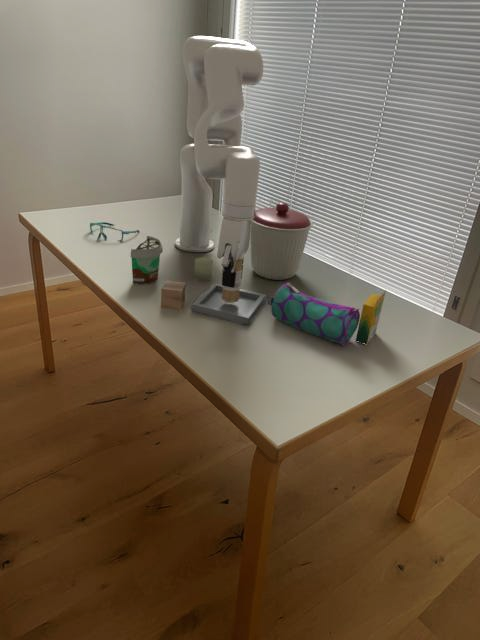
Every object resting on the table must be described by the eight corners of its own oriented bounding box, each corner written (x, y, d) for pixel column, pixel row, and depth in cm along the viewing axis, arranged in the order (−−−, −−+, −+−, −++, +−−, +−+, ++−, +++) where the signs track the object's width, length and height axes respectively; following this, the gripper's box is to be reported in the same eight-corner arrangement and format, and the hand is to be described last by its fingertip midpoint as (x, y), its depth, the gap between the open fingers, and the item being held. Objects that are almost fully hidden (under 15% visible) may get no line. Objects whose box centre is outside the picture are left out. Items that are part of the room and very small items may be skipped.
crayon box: (364, 329, 122) (374, 286, 116) (376, 333, 121) (387, 289, 115) (354, 341, 116) (364, 296, 111) (366, 345, 115) (378, 300, 109)
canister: (315, 275, 149) (327, 205, 139) (280, 291, 137) (291, 216, 127) (267, 257, 159) (275, 191, 149) (230, 271, 146) (237, 199, 136)
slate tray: (213, 289, 134) (214, 282, 133) (265, 301, 130) (265, 294, 129) (191, 311, 122) (192, 304, 121) (247, 325, 118) (248, 318, 117)
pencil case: (264, 321, 121) (268, 285, 116) (283, 309, 127) (288, 275, 123) (341, 353, 111) (350, 315, 106) (358, 339, 117) (366, 302, 113)
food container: (153, 289, 130) (153, 253, 126) (130, 285, 131) (130, 249, 127) (168, 272, 141) (169, 238, 136) (147, 268, 142) (147, 235, 137)
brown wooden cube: (165, 298, 127) (165, 280, 124) (184, 300, 127) (185, 282, 124) (161, 307, 122) (161, 288, 120) (181, 309, 122) (182, 291, 120)
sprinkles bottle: (234, 294, 128) (239, 244, 121) (242, 302, 124) (247, 251, 118) (218, 296, 126) (222, 246, 119) (225, 304, 122) (230, 253, 116)
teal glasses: (82, 236, 161) (82, 220, 159) (109, 228, 174) (110, 214, 172) (119, 245, 157) (119, 229, 155) (144, 237, 170) (145, 222, 168)
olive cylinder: (198, 272, 143) (199, 255, 141) (214, 275, 142) (215, 259, 140) (191, 278, 139) (191, 261, 137) (207, 282, 138) (208, 265, 135)
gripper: (235, 198, 122) (229, 267, 131) (209, 215, 108) (204, 292, 117) (264, 204, 120) (256, 273, 129) (242, 222, 106) (234, 299, 115)
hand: (231, 281), depth 123 cm, fingers closed on sprinkles bottle, 4 cm apart
